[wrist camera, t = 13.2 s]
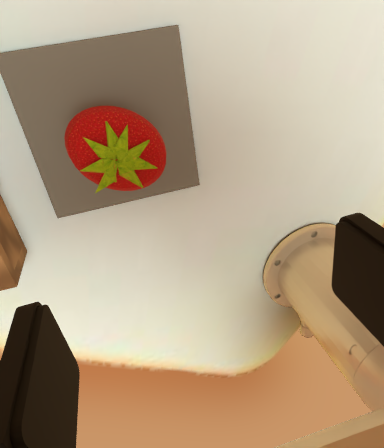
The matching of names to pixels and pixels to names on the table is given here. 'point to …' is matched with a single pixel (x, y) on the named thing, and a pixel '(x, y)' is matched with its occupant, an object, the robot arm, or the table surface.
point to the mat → (102, 96)
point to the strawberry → (115, 148)
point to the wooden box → (10, 250)
